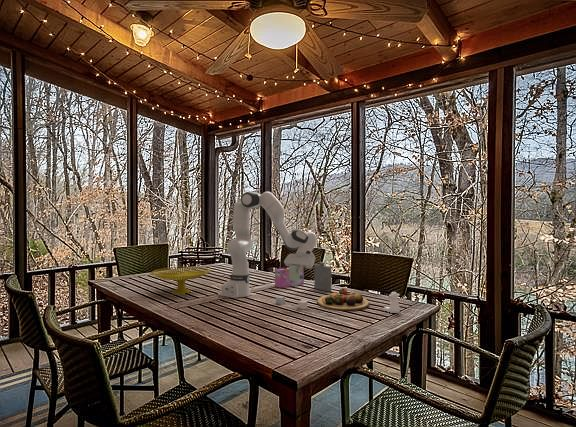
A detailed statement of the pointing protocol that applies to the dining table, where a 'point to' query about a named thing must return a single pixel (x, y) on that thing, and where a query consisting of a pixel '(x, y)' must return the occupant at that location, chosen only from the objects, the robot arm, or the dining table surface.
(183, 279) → the cake stand
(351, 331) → the dining table surface
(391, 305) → the seated beast figurine
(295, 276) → the sage-green pillar
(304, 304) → the cream block
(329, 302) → the wooden plate with food
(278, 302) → the grey block
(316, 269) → the hip flask
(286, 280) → the gum box
